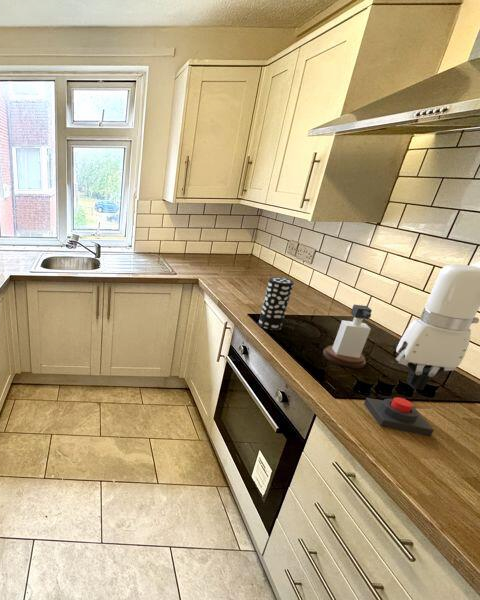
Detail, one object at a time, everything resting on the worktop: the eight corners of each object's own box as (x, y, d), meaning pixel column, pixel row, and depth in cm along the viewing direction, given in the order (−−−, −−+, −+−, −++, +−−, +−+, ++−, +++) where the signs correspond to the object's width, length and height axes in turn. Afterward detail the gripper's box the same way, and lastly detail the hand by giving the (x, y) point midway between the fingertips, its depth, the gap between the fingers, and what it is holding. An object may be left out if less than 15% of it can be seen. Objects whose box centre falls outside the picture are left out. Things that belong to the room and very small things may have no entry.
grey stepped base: (408, 412, 85) (414, 400, 83) (430, 436, 77) (437, 424, 75) (363, 403, 88) (368, 392, 86) (380, 426, 80) (386, 414, 78)
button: (404, 405, 82) (408, 398, 81) (413, 414, 79) (416, 408, 78) (387, 402, 83) (390, 395, 82) (395, 411, 80) (398, 404, 79)
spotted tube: (263, 319, 137) (274, 275, 130) (284, 326, 132) (297, 281, 124) (254, 324, 133) (265, 279, 125) (276, 332, 127) (289, 285, 119)
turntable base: (355, 353, 112) (356, 350, 112) (371, 371, 102) (373, 368, 102) (317, 347, 116) (318, 344, 115) (329, 364, 106) (330, 361, 105)
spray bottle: (321, 344, 115) (337, 299, 108) (356, 350, 111) (375, 303, 104) (331, 359, 106) (349, 310, 99) (369, 366, 102) (390, 316, 95)
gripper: (475, 316, 72) (443, 382, 79) (394, 309, 77) (370, 372, 84) (504, 331, 66) (465, 402, 73) (413, 322, 70) (385, 389, 77)
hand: (414, 386), depth 78 cm, fingers closed
